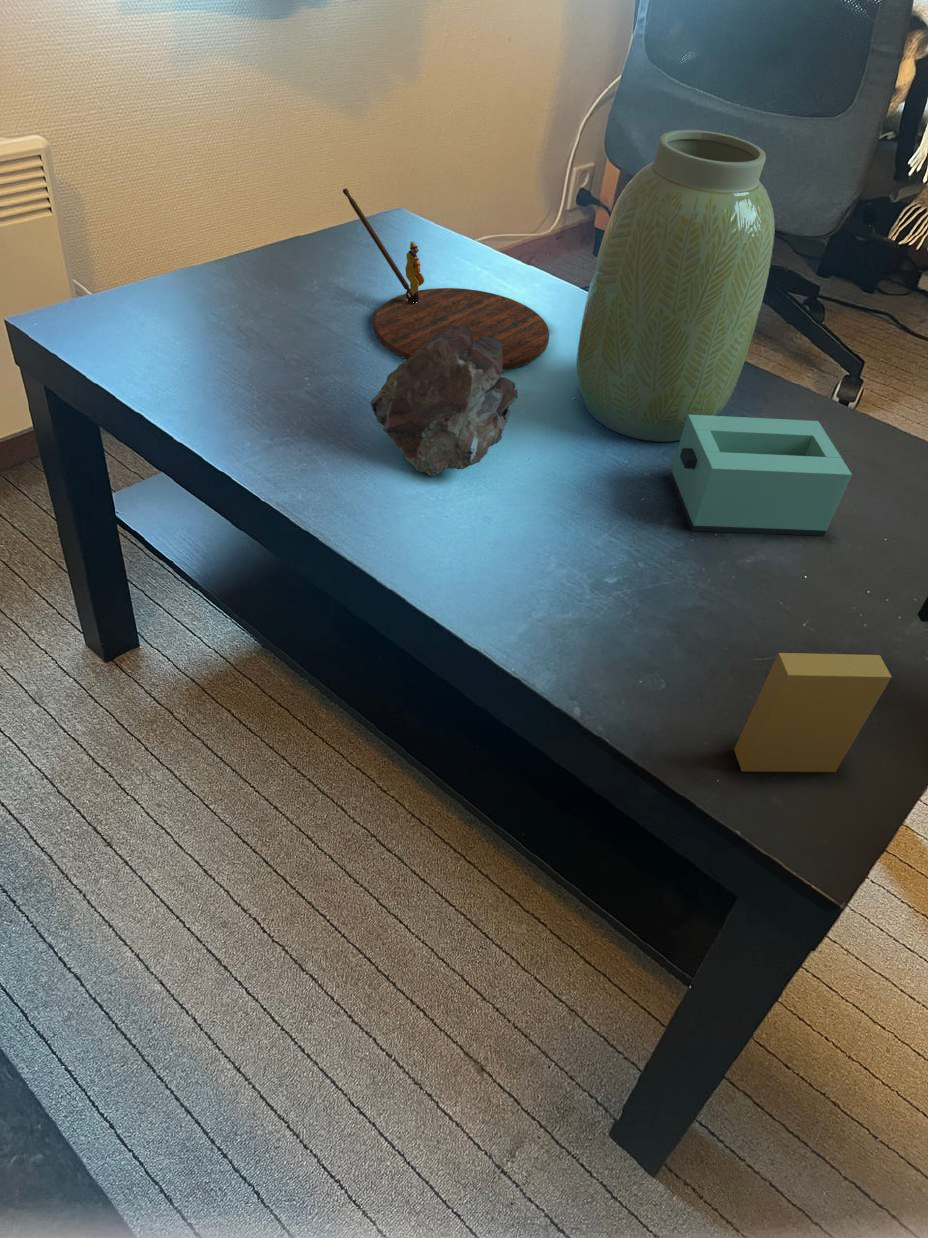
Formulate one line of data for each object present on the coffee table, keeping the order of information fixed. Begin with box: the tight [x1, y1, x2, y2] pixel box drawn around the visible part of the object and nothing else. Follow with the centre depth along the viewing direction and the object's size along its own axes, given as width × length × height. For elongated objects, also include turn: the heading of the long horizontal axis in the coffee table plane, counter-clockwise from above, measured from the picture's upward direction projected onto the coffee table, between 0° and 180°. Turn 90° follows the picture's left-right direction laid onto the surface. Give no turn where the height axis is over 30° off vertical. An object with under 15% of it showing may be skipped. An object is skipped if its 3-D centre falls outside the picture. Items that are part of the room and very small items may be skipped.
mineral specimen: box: [369, 325, 519, 477], centre depth 90 cm, size 12×13×15 cm
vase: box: [575, 129, 776, 443], centre depth 93 cm, size 17×17×27 cm
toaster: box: [669, 414, 853, 537], centre depth 88 cm, size 14×9×7 cm, turn 93°
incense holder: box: [342, 188, 550, 371], centre depth 110 cm, size 21×30×11 cm
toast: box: [733, 652, 892, 773], centre depth 63 cm, size 7×2×10 cm, turn 93°
